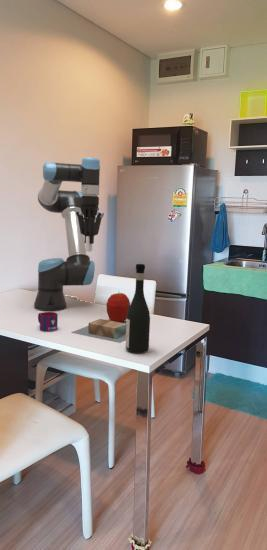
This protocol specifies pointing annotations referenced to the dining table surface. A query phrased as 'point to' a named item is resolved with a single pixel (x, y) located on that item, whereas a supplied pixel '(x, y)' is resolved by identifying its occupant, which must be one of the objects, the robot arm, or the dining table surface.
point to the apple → (118, 307)
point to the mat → (85, 332)
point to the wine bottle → (138, 317)
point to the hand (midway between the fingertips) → (88, 251)
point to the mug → (48, 321)
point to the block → (107, 328)
